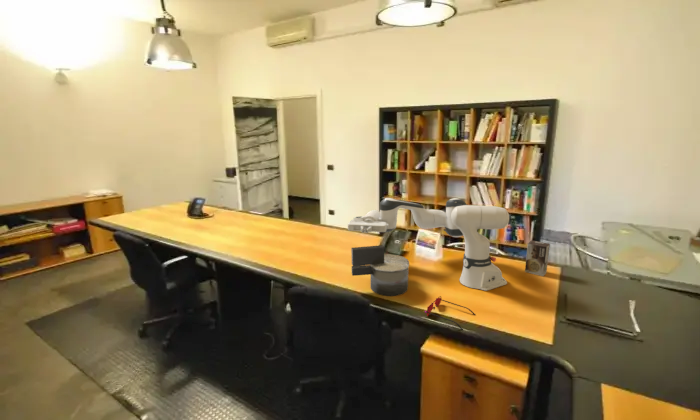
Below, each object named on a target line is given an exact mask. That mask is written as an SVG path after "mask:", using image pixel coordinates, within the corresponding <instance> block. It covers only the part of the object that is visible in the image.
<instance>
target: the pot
mask: <svg viewBox="0 0 700 420" xmlns="http://www.w3.org/2000/svg"><path fill="white" fill-rule="evenodd" d="M351 275H352V276H353V277H354V276H366V275H367V276H369V275H370V289H371V291H372V292H373V293H375V294H377V295H378V296H379V295H380V296H384V297H397V296H402V295H403V294H405V293H406V292H408V289H409V267H408V268H407V269H405V270H403V271H399V272H383V271H378V270H376V269H374V268H372V267H371V266H370V265H362V266H353V265H352V266H351Z"/></svg>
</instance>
